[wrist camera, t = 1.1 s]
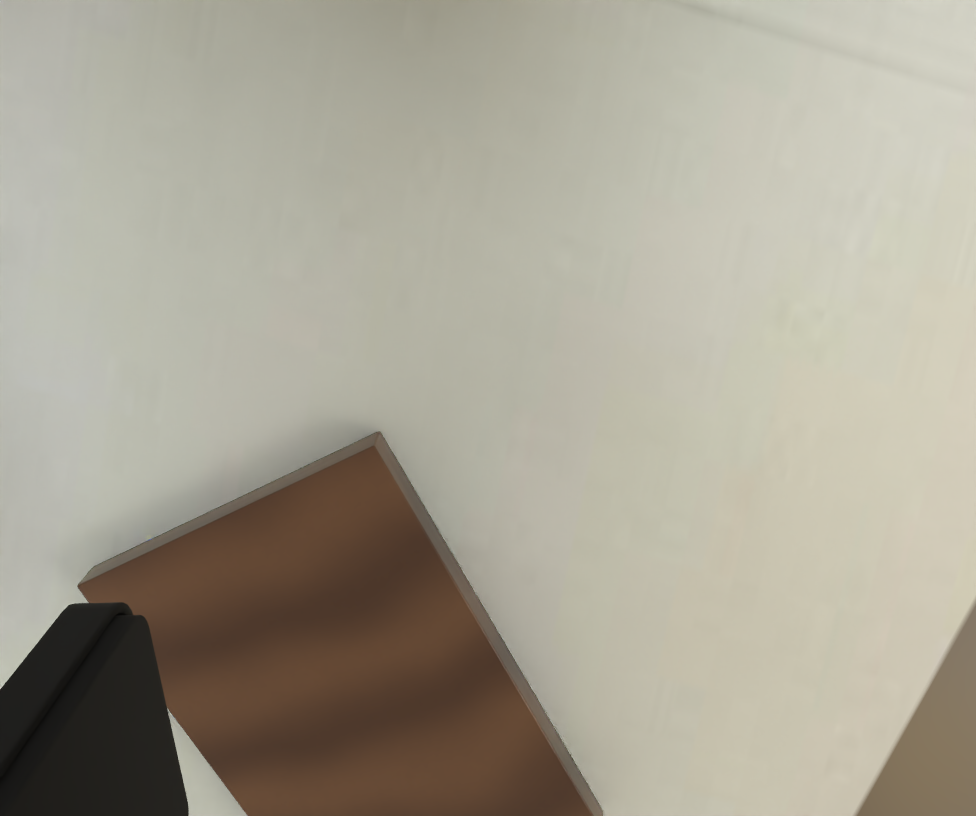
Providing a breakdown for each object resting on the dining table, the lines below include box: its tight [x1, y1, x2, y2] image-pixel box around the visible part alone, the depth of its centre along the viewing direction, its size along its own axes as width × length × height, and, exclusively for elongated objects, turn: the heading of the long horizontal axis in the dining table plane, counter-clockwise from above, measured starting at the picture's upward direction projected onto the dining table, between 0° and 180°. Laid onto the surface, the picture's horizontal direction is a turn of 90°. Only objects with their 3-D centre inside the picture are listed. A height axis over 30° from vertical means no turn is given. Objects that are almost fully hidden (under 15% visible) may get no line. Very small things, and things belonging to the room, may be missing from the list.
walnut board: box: [77, 432, 603, 816], centre depth 46 cm, size 24×16×2 cm, turn 27°
